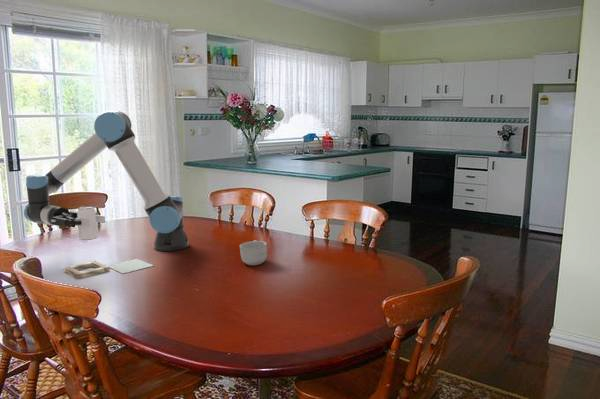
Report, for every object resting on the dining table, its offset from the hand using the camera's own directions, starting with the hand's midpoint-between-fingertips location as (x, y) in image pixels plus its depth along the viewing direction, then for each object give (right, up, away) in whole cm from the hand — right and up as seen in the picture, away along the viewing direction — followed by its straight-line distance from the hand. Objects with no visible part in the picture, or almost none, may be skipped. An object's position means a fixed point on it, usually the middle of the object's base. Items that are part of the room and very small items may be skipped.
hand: (96, 221), depth 186 cm
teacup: (+58, -17, +16) cm, 62 cm away
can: (-4, -7, +4) cm, 9 cm away
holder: (-6, -19, +5) cm, 21 cm away
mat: (+9, -18, +11) cm, 23 cm away
